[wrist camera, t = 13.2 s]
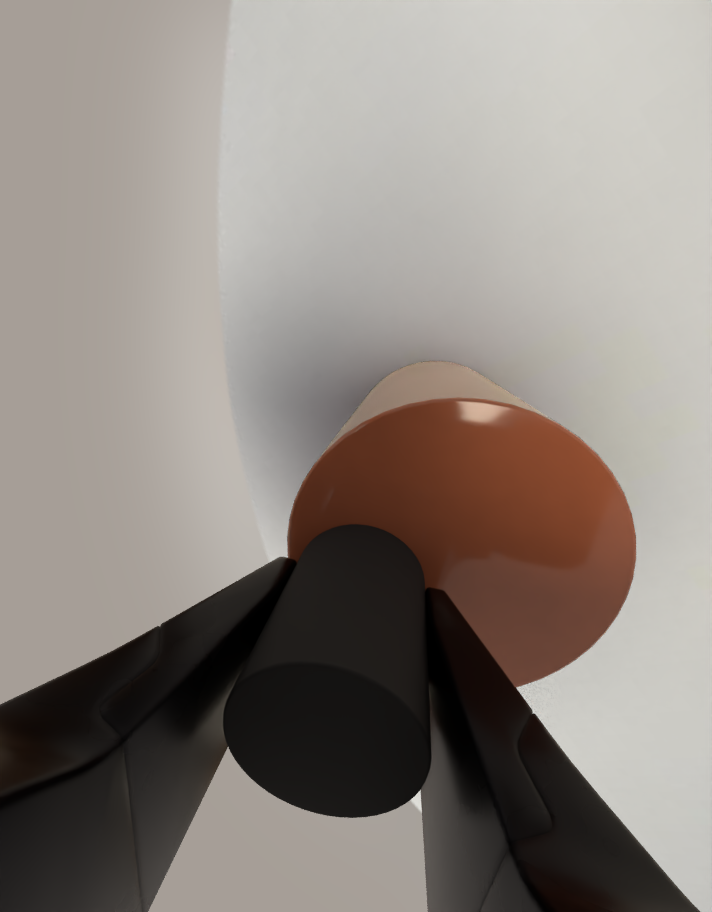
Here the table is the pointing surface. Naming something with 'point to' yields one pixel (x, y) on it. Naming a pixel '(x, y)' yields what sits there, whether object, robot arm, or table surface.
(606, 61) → the table surface
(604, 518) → the pedestal
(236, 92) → the table surface
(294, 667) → the dot
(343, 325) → the table surface
